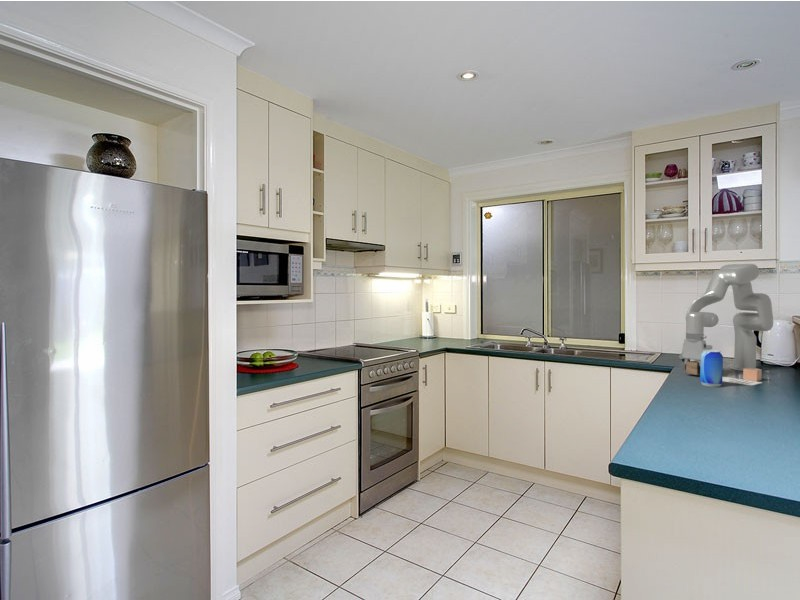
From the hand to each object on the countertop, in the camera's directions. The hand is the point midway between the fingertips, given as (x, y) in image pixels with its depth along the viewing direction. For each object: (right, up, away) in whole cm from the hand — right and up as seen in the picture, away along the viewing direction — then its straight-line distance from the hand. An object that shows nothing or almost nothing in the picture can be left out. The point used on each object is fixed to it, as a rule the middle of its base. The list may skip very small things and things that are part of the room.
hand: (693, 372), depth 230 cm
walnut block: (0, -1, 0) cm, 1 cm away
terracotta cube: (+23, -2, -9) cm, 24 cm away
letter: (+13, -2, -12) cm, 18 cm away
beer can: (-6, -3, -22) cm, 23 cm away
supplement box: (+10, -2, +11) cm, 15 cm away
